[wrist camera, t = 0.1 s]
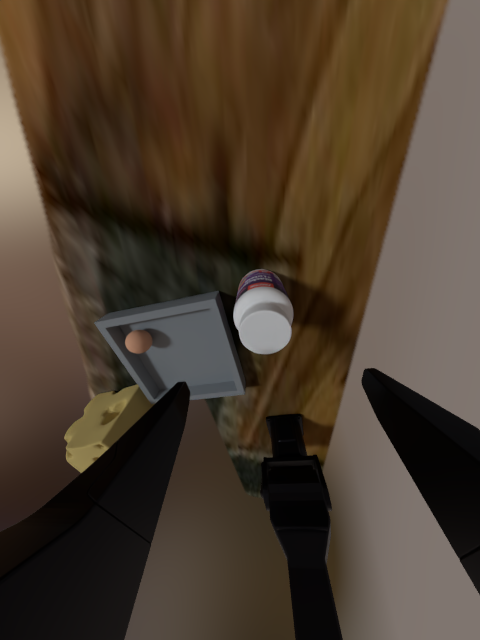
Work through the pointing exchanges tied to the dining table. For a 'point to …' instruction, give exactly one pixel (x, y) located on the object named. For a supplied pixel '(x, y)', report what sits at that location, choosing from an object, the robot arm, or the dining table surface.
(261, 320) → the pill bottle
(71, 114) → the dining table surface
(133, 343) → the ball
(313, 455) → the robot arm
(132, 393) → the cheese
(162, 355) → the tray
